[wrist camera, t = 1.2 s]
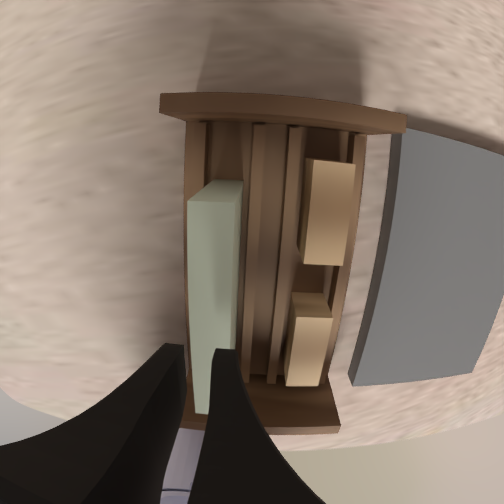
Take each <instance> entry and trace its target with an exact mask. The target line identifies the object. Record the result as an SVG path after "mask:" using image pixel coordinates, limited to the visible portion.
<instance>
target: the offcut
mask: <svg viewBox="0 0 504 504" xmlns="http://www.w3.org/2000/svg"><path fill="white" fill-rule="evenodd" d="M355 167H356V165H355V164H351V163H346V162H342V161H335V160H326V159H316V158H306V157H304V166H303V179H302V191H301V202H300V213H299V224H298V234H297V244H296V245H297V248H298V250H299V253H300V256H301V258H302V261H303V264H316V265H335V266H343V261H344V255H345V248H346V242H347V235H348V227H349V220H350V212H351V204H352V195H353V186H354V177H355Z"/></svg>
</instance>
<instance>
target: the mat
mask: <svg viewBox="0 0 504 504" xmlns="http://www.w3.org/2000/svg"><path fill="white" fill-rule="evenodd" d="M503 295H504V156H503V155H500V154H497V153H494V152H491V151H489V150H485V149H482V148H479V147H476V146H473V145H470V144H466V143H463V142H460V141H456V140H453V139H449V138H445V137H442V136H438V135H434V134H430V133H426V132H422V131H418V130H413V129H409V128H406V133H398V134H392V139H391V152H390V163H389V173H388V182H387V190H386V198H385V205H384V212H383V219H382V226H381V232H380V238H379V244H378V250H377V255H376V261H375V266H374V271H373V276H372V281H371V285H370V290H369V295H368V299H367V304H366V308H365V312H364V316H363V320H362V324H361V328H360V332H359V336H358V340H357V344H356V347H355V351H354V355H353V358H352V362H351V365H350V369H349V372H348V376H349V379H350V381H351V384H352V386H369V385H382V384H394V383H404V382H413V381H421V380H429V379H436V378H443V377H449V376H456V375H461V374H467V373H472V371H473V369H474V367H475V365H476V362H477V360H478V358H479V356H480V354H481V352H482V349H483V347H484V345H485V342H486V340H487V338H488V335H489V333H490V330H491V328H492V325H493V323H494V320H495V318H496V315H497V312H498V309H499V307H500V304H501V301H502V298H503Z"/></svg>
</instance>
